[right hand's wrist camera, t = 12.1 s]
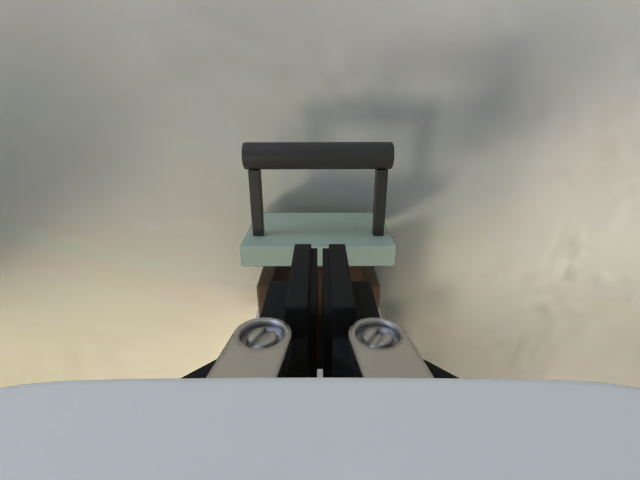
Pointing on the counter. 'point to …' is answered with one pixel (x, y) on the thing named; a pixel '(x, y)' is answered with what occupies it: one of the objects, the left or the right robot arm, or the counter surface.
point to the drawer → (317, 216)
